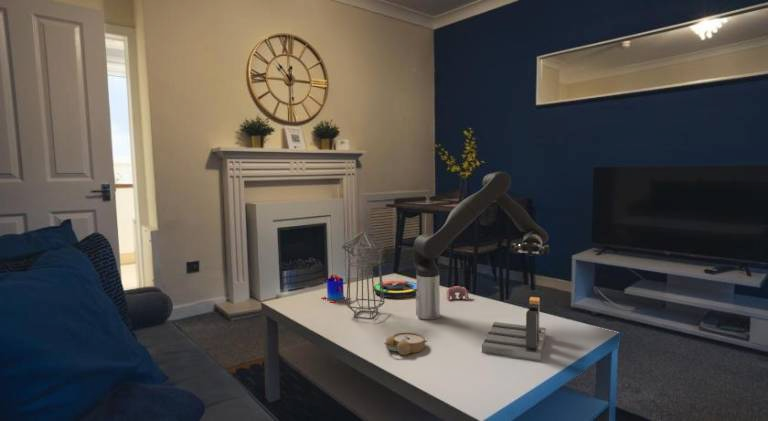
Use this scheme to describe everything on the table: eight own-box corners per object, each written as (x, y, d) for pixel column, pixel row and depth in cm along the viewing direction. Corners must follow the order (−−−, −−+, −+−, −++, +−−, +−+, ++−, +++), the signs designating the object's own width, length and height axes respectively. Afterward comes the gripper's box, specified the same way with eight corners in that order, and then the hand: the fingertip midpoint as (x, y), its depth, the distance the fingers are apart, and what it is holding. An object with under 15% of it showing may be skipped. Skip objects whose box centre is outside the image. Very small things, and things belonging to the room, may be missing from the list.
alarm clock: (432, 338, 146) (402, 343, 135) (430, 353, 146) (401, 359, 135) (407, 330, 154) (377, 334, 143) (406, 344, 154) (376, 349, 143)
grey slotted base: (545, 334, 153) (546, 297, 152) (540, 361, 133) (540, 317, 131) (494, 328, 161) (494, 292, 160) (481, 352, 140) (481, 311, 139)
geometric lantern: (341, 318, 176) (338, 233, 174) (357, 308, 190) (355, 229, 188) (376, 322, 170) (373, 234, 168) (391, 311, 184) (388, 229, 182)
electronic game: (405, 302, 196) (405, 292, 196) (364, 295, 209) (364, 286, 209) (428, 290, 216) (428, 280, 215) (389, 284, 228) (389, 275, 228)
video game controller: (468, 301, 199) (467, 286, 202) (469, 300, 195) (468, 284, 197) (446, 302, 200) (445, 287, 202) (447, 300, 195) (446, 285, 198)
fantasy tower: (318, 298, 204) (317, 274, 203) (340, 294, 212) (339, 270, 210) (331, 304, 195) (330, 278, 194) (353, 299, 202) (352, 274, 201)
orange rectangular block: (539, 328, 152) (539, 297, 151) (538, 332, 149) (538, 300, 148) (530, 327, 153) (530, 296, 152) (529, 330, 150) (529, 299, 149)
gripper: (513, 234, 179) (508, 240, 164) (550, 236, 173) (548, 242, 159) (513, 252, 180) (508, 260, 165) (550, 254, 174) (547, 262, 159)
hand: (527, 251), depth 162 cm, fingers open, 8 cm apart
